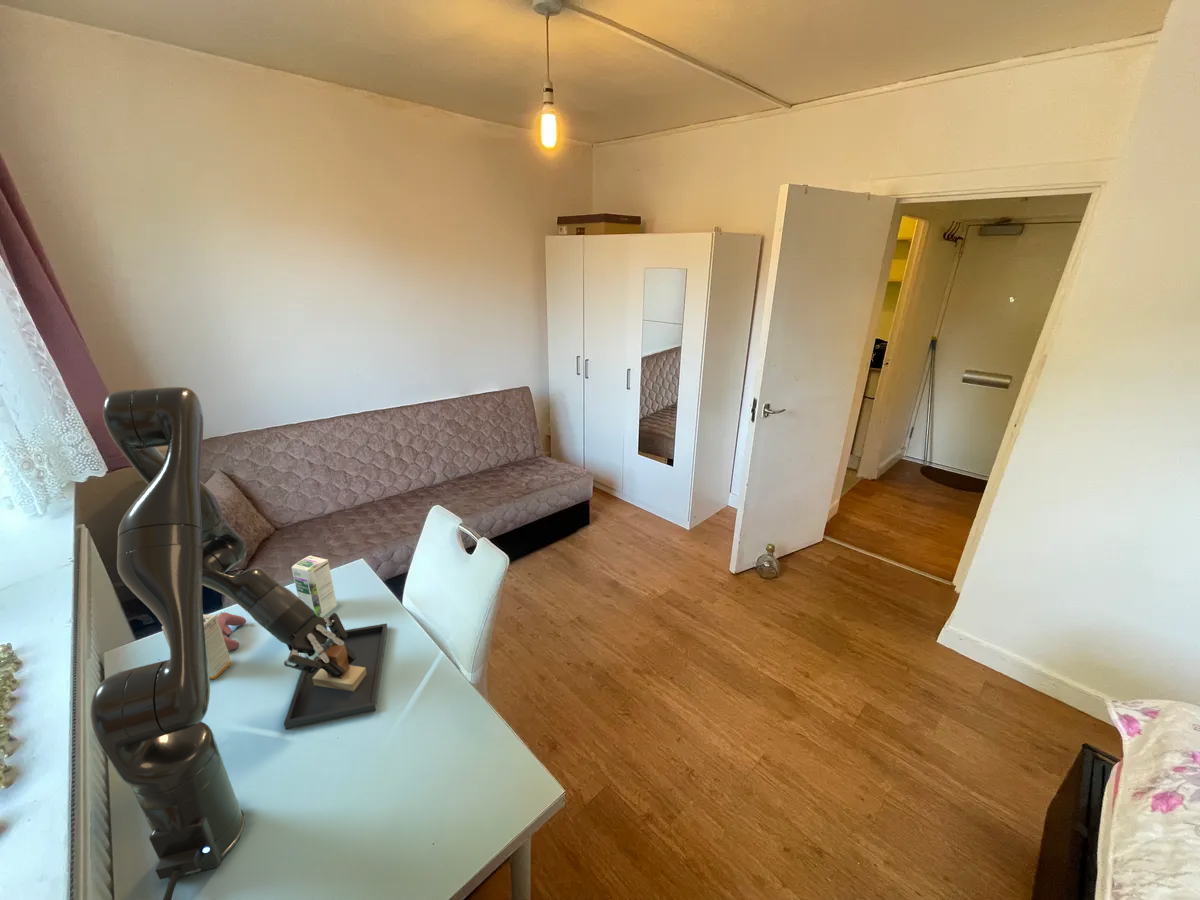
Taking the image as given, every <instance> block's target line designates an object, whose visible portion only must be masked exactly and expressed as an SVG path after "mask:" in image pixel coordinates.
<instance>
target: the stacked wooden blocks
mask: <svg viewBox="0 0 1200 900" xmlns="http://www.w3.org/2000/svg"><path fill="white" fill-rule="evenodd" d="M325 654H326V655H327V656H328V657H329V658H330V661H331V660H333V661H334V662H335V663H336V664H338V665H339V666H340V667H341V668H343V669H344V670H345V672H344V674H343V675H342V676H340V677H339V678H337V677H335V678H334V677H332V676H331V675H330V674H328V673H327V672H326V671H325V670H324V669H320V670H319V671H318V672H317V673H316V674H315V676H314V677H313V678H312V679H313V683H314V685H316V686H322V687H328V688H334V689H340V690H346V691H353V692H354V691H355V690H356V688H357V687H358V686H359V684H360V683H361V682H362V680H363V679H364V678H365V676H366V675H367V673H366V668H365V667H358V666H352V665H349V661H348V656H347V651H346V646H341V645H334V644H332V645H331V646H330V647H329V649H328V650H327V651H326V652H325Z"/></svg>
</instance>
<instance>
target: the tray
mask: <svg viewBox="0 0 1200 900" xmlns="http://www.w3.org/2000/svg"><path fill="white" fill-rule="evenodd" d="M388 629H389V626H388V623H380V624H375V625H368V626H362V627H355V628H349V629H345V631H346V633H347V637H346V638H345V641H344V644H345V646H347V647H348V648H349V649H350V650H351V651H352V652H354V654H355V657H356V659H355V660H354V661H353V662H352V663H351V664H349V665H352V666H358V667H365V668H366V673H367V675H366V676H365V678H364V679H363V680H362V682H361V683H360V684H359V686H358V687H357V688H356V690H355V691H354V692H353V691H346V690H340V689H334V688H328V687H322V686H316V685H314V683H313V679H312V678H313V677H314V676H315V674H316V673H317V672H318V671H319V670H320V669H318V670H317V671H315V672H314V673H309V672H306V671H302V670H301V671H300V675H299V677H298V680H297V683H296V687H295V689H294V692H293V695H292V698H291V702H290V704H289V708H288V710H287V714H286V716H285V720H284V722H283V726H284V729H285V730H291V729H295V728H296V729H297V728H300V727H305V726H310V725H315V724H320V723H325V722H329V721H333V720H339V719H343V718H347V717H352V716H357V715H358V716H359V715H362V714H367V713H372V712H376V711H377V705H378V699H379V698H378V697H379V693H380V692H379V691H380V684H381V677H382V671H383V665H384V658H385V657H384V656H385V650H386V644H387V637H388ZM321 646H322V645H321ZM322 647H323V646H322ZM323 649H324V652H326V651H327V650H328V649H329V648H328V647H323ZM314 653H315V652H314ZM305 658H308V657H307V656H306V657H305ZM308 659H309V658H308Z"/></svg>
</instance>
